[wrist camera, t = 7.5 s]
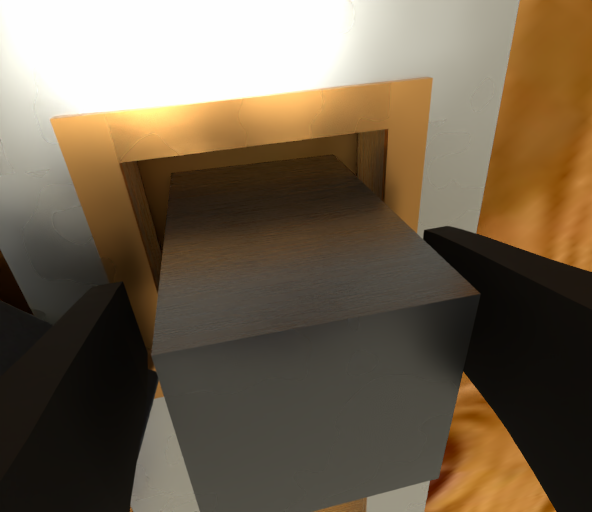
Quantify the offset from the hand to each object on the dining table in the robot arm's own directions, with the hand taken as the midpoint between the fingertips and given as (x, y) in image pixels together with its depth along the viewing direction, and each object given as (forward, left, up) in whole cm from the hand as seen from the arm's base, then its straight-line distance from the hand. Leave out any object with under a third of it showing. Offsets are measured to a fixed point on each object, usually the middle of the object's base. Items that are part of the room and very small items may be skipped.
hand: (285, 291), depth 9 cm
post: (0, 0, -3) cm, 4 cm away
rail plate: (-6, 0, -3) cm, 7 cm away
